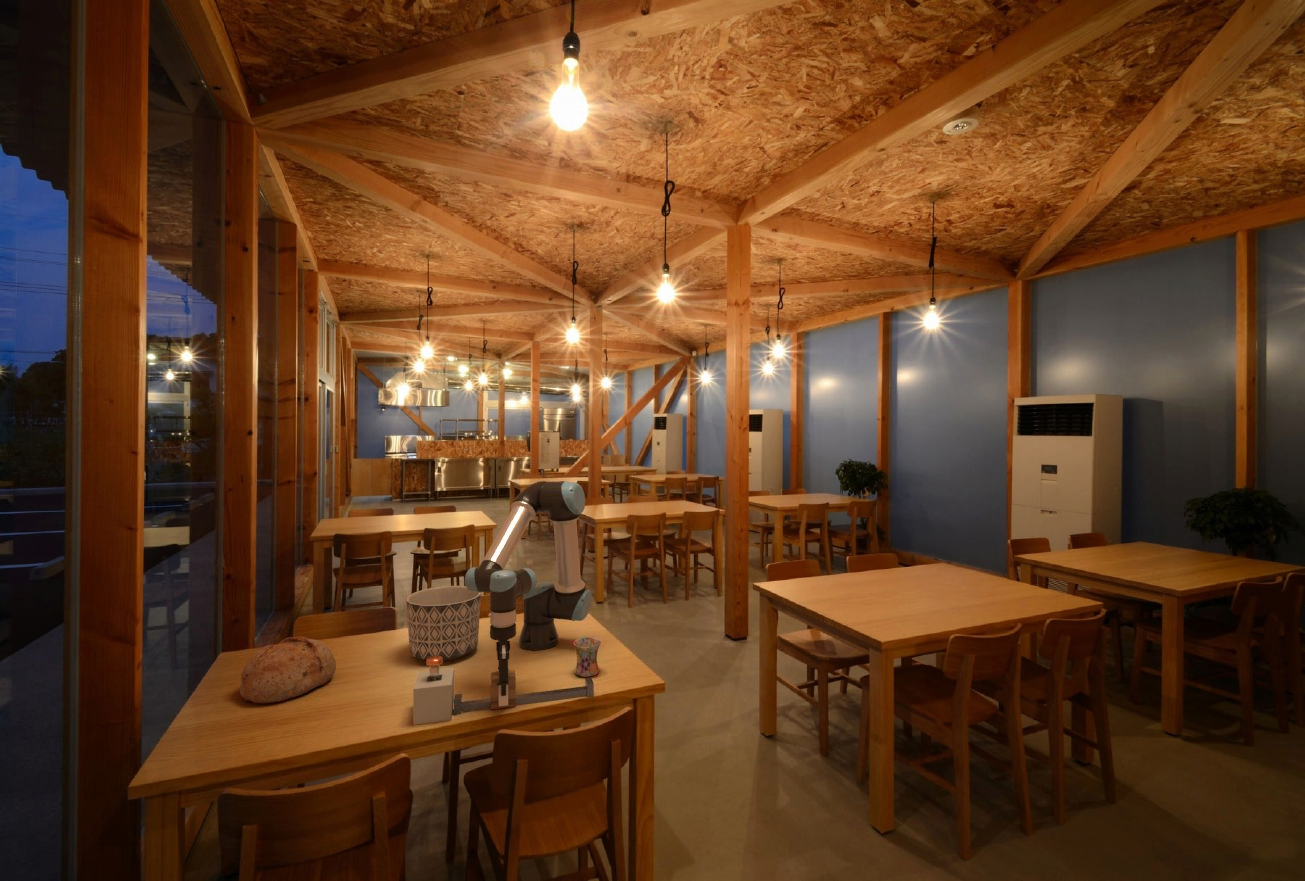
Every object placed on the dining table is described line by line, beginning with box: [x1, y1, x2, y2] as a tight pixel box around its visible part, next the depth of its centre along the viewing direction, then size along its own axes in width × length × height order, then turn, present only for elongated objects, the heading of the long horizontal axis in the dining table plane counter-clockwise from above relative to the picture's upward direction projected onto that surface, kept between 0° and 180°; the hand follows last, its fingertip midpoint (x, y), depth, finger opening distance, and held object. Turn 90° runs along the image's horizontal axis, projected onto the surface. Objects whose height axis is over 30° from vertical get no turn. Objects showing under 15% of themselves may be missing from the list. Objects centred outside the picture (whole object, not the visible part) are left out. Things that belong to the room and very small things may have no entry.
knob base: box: [412, 667, 455, 726], centre depth 162 cm, size 12×10×10 cm
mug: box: [572, 636, 601, 678], centre depth 190 cm, size 12×9×11 cm
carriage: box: [490, 669, 517, 710], centre depth 166 cm, size 5×7×9 cm
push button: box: [425, 656, 443, 681], centre depth 162 cm, size 4×4×6 cm
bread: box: [239, 636, 337, 704], centre depth 178 cm, size 26×23×15 cm
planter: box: [405, 585, 482, 662], centre depth 205 cm, size 26×26×22 cm
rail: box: [453, 677, 595, 715], centre depth 168 cm, size 4×41×4 cm, turn 107°
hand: (503, 700), depth 166 cm, fingers closed on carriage, 5 cm apart
